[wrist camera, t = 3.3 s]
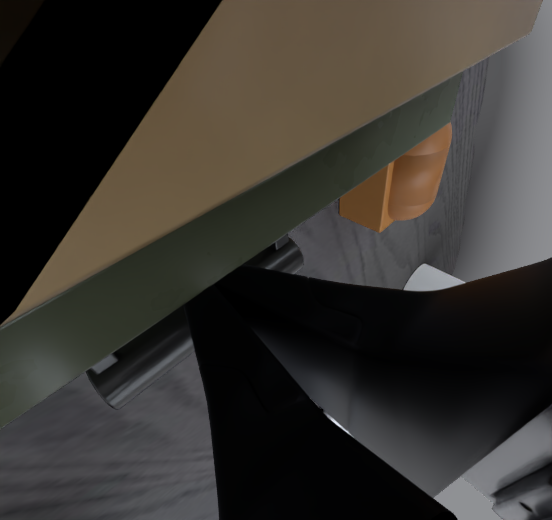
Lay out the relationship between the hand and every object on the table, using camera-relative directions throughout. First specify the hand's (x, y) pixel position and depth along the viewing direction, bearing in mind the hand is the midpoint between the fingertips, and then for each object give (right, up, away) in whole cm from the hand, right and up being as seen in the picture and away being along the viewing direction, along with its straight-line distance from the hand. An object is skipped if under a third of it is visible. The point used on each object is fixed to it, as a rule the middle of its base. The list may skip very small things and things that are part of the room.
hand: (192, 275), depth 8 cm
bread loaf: (+8, +8, +12) cm, 16 cm away
